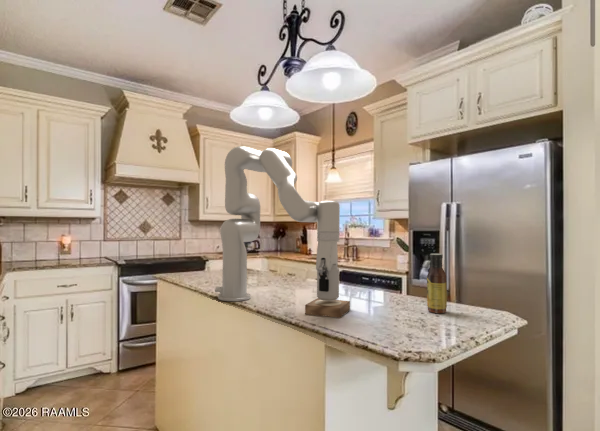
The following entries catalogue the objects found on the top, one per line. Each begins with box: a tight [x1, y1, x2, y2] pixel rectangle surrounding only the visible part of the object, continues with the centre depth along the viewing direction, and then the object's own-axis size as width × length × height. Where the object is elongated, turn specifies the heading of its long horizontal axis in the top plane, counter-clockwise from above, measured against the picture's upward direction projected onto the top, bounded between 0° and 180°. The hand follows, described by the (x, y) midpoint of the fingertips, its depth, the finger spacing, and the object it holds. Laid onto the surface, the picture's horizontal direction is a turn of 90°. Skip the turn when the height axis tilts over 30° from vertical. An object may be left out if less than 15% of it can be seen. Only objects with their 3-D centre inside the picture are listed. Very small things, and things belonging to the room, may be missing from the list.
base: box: [304, 297, 351, 318], centre depth 125 cm, size 12×12×3 cm
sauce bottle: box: [426, 253, 448, 314], centre depth 126 cm, size 7×6×20 cm
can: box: [316, 264, 340, 301], centre depth 125 cm, size 8×8×12 cm
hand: (327, 288), depth 125 cm, fingers closed on can, 7 cm apart
